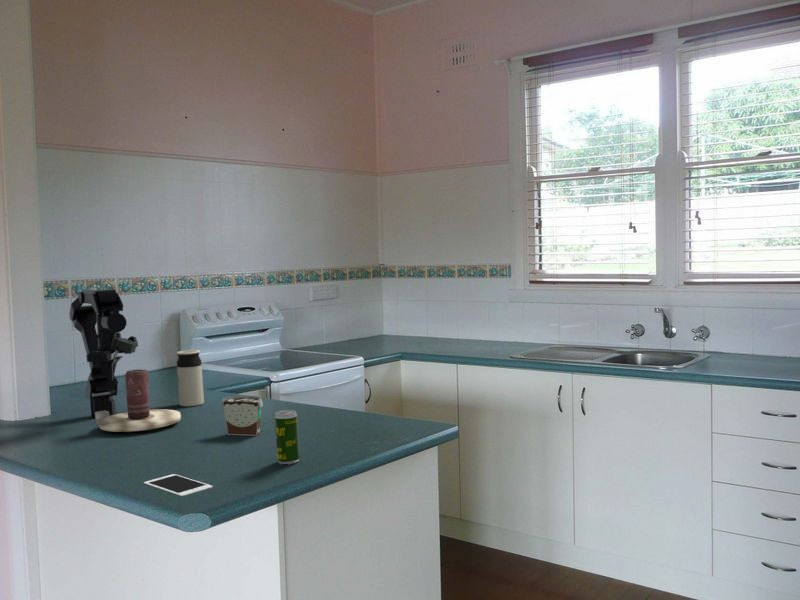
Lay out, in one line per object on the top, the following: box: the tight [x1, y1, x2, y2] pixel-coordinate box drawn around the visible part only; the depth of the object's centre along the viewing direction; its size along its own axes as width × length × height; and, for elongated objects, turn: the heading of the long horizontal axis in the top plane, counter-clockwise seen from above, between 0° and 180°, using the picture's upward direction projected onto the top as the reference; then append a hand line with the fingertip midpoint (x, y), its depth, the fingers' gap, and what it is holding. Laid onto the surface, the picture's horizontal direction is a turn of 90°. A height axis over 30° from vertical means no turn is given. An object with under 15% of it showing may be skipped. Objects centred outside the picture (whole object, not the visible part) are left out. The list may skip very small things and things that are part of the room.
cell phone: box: [143, 473, 214, 497], centre depth 175 cm, size 8×16×1 cm, turn 47°
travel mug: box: [176, 349, 205, 408], centre depth 266 cm, size 8×8×18 cm
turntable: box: [94, 408, 182, 433], centre depth 236 cm, size 24×23×5 cm
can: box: [124, 369, 150, 419], centre depth 235 cm, size 6×6×14 cm
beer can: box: [274, 409, 300, 465], centre depth 189 cm, size 5×5×12 cm
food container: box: [220, 395, 264, 437], centre depth 222 cm, size 12×6×10 cm, turn 71°
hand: (110, 380), depth 245 cm, fingers closed
